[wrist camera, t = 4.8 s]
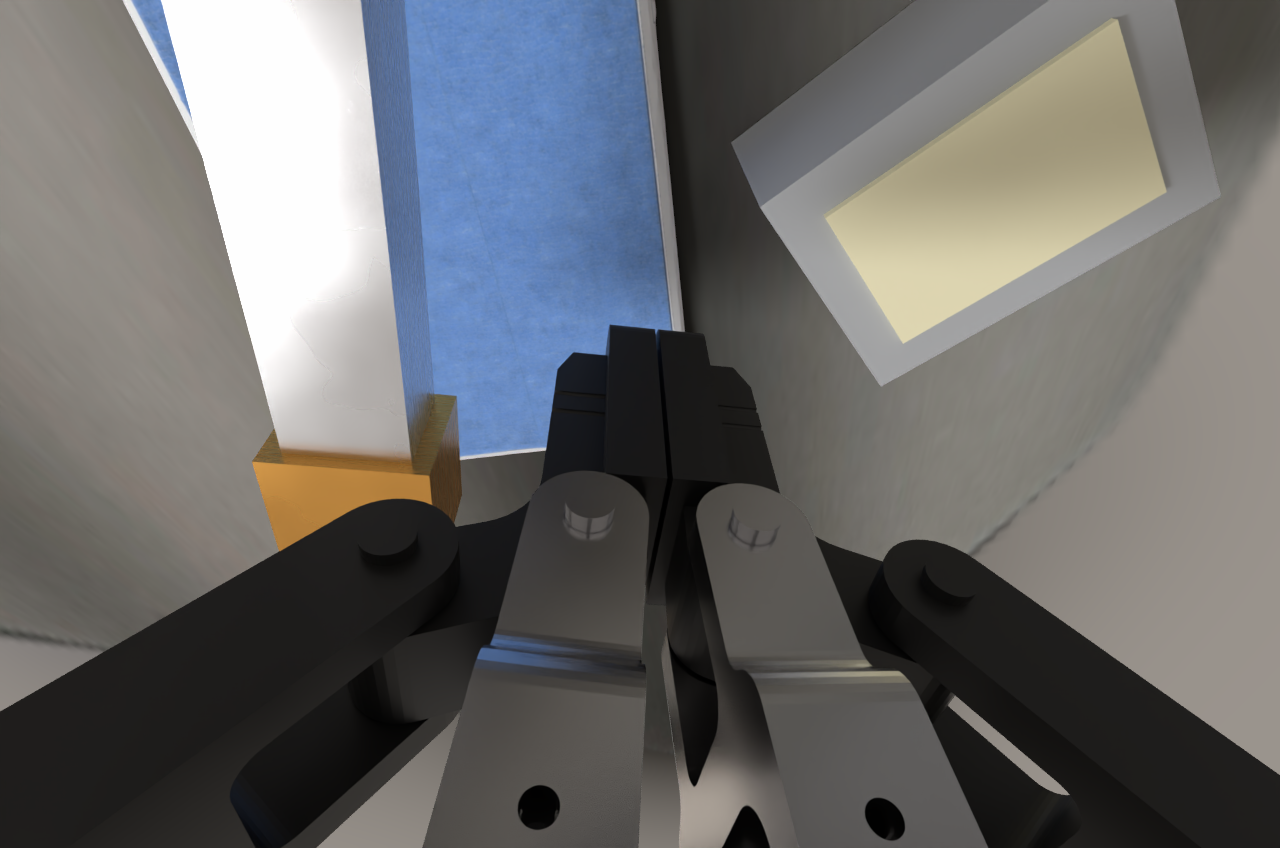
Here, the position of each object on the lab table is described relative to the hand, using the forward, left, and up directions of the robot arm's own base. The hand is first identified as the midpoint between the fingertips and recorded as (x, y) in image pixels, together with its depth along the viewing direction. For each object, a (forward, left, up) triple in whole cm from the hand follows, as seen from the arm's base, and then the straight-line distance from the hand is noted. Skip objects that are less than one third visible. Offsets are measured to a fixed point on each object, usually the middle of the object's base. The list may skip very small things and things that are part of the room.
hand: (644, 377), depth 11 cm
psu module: (-7, +4, -10) cm, 13 cm away
